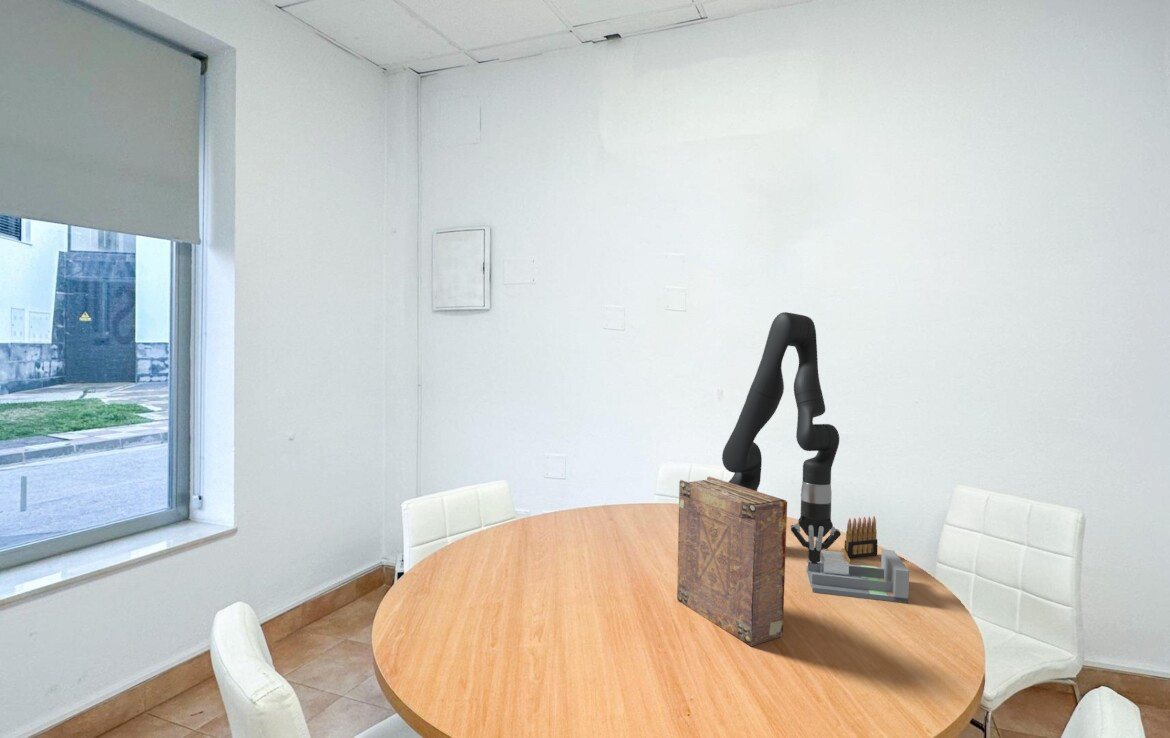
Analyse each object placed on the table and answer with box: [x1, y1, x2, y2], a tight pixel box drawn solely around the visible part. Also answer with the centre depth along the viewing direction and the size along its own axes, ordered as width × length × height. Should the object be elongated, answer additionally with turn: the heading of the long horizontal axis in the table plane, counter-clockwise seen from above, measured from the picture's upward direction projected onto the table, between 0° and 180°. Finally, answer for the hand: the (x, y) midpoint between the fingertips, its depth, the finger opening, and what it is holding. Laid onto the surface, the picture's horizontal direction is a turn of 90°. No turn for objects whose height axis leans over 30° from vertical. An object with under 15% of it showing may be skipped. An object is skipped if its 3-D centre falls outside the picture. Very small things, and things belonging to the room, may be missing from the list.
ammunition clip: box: [843, 515, 878, 560], centre depth 175 cm, size 11×2×12 cm, turn 106°
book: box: [676, 476, 788, 647], centre depth 134 cm, size 25×9×30 cm, turn 29°
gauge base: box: [805, 548, 910, 604], centre depth 153 cm, size 22×15×8 cm
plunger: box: [820, 548, 851, 576], centre depth 154 cm, size 6×8×7 cm
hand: (814, 562), depth 155 cm, fingers closed
